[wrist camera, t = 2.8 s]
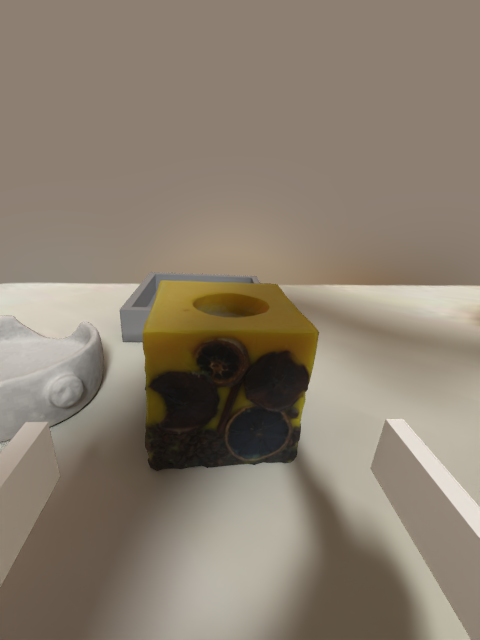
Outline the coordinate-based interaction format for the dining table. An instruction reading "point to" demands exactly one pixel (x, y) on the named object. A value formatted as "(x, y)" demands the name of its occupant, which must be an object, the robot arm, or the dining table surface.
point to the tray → (145, 294)
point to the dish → (45, 374)
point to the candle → (225, 374)
